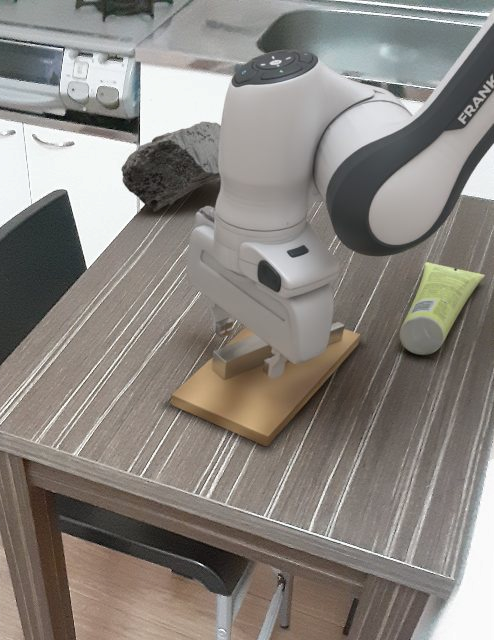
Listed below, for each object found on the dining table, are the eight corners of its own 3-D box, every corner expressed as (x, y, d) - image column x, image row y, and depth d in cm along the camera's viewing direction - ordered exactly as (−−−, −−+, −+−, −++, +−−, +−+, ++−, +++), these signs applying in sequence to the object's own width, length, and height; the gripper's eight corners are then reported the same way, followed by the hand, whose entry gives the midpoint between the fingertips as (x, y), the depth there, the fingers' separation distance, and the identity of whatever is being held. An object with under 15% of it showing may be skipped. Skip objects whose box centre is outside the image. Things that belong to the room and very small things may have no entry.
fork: (231, 386, 83) (232, 368, 81) (205, 363, 86) (206, 345, 84) (341, 339, 88) (345, 321, 87) (313, 320, 91) (316, 301, 90)
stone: (110, 122, 107) (203, 155, 102) (170, 99, 118) (256, 128, 114) (101, 205, 115) (186, 239, 110) (157, 176, 126) (237, 205, 122)
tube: (418, 367, 89) (450, 295, 101) (457, 346, 85) (485, 274, 98) (389, 330, 88) (425, 262, 100) (427, 308, 84) (460, 239, 96)
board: (358, 344, 90) (360, 334, 89) (266, 447, 78) (268, 436, 77) (269, 313, 95) (271, 303, 94) (171, 405, 83) (171, 394, 82)
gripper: (173, 207, 80) (171, 318, 90) (300, 292, 68) (282, 411, 78) (221, 191, 82) (215, 302, 92) (353, 272, 70) (329, 390, 80)
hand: (246, 353), depth 85 cm, fingers open, 8 cm apart
